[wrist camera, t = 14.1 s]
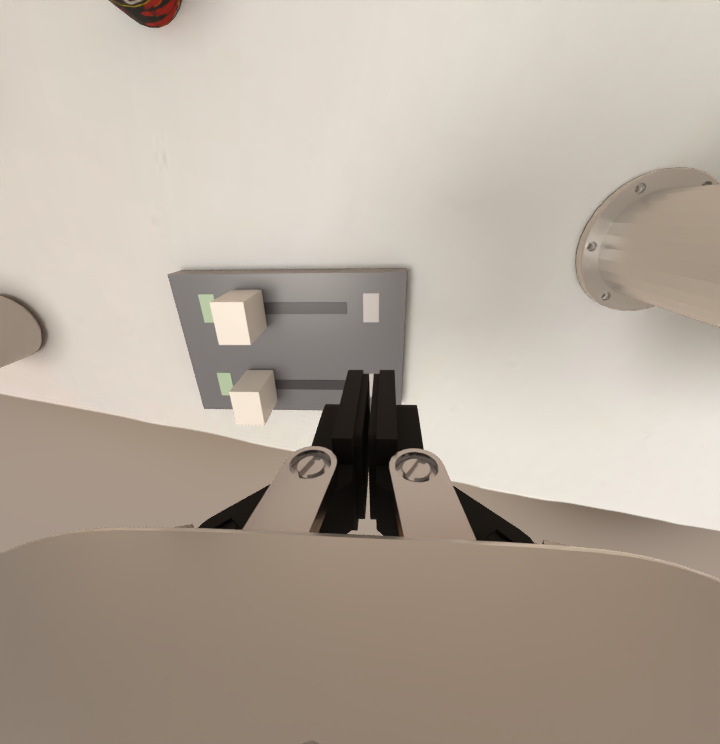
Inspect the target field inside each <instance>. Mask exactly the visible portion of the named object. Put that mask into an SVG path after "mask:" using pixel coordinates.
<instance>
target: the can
mask: <svg viewBox="0 0 720 744" xmlns="http://www.w3.org/2000/svg"><path fill="white" fill-rule="evenodd" d="M41 343H42V341H41V328H40V326H39V323H38V321H37V320H36V319H35V317H34V316H33V315H32V314H31V313H30V312H29V311H28V310H27V309H26V308H24V307H23V306H21V305H20V304H18V303H16V302H14V301H13V300H11V299H8V298H5V297H3V296H0V368H1V367H3V366H5V365H8V364H10V363H13V362H15V361H18V360H20V359H22V358H25V357H27V356H30V355H32V354H34V353H35V352H36V351H38V350H39V348H40V345H41Z"/></svg>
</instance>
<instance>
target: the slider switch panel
mask: <svg viewBox="0 0 720 744" xmlns="http://www.w3.org/2000/svg"><path fill="white" fill-rule="evenodd" d="M168 278H169V281H170V285H171V289H172V292H173V296H174V300H175V303H176V307H177V311H178V315H179V318H180V322H181V326H182V329H183V333H184V337H185V340H186V344H187V348H188V351H189V355H190V359H191V362H192V366H193V370H194V373H195V377H196V381H197V384H198V388H199V392H200V395H201V399H202V403H203V406H204V409H233V407H232V403H231V398H230V394H229V391H230V390H231V389H232V388H233V386H234V385H235V384H236V383H237V382H238V380H239V379H240V378H241V377H242V375H243V374H244V373H245V372H246V371H247V370H273V372H274V379H275V385H276V392H277V399H278V401H277V403H276V405H275V407H274V408H273V410H323V409H324V406H325V404H340V401H341V397H342V393H343V389H344V385H345V381H346V377H347V373H348V370H363V371H364V374H369V382H370V411H371V400H372V388H373V376H374V374H379V373H380V370H395V390H396V405H401V394H402V373H403V351H404V329H405V307H406V285H407V271H406V269H405V268H379V269H280V270H181V271H178V272H174V273H171V274H168ZM231 290H262V296H263V303H264V309H265V316H266V323H267V328H266V329H265V331H264V332H263V333H262V334H261V335H260V336H259V337H258V338H257V339H256V340H255V341H254V342H253V343H252V344H251V345H219V343H218V338H217V334H216V329H215V325H214V321H213V316H212V312H211V307H210V303H209V302H211V301H213V300H214V299H216V298H218V297H220V296H222V295H224V294H225V293H227V292H229V291H231Z"/></svg>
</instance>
